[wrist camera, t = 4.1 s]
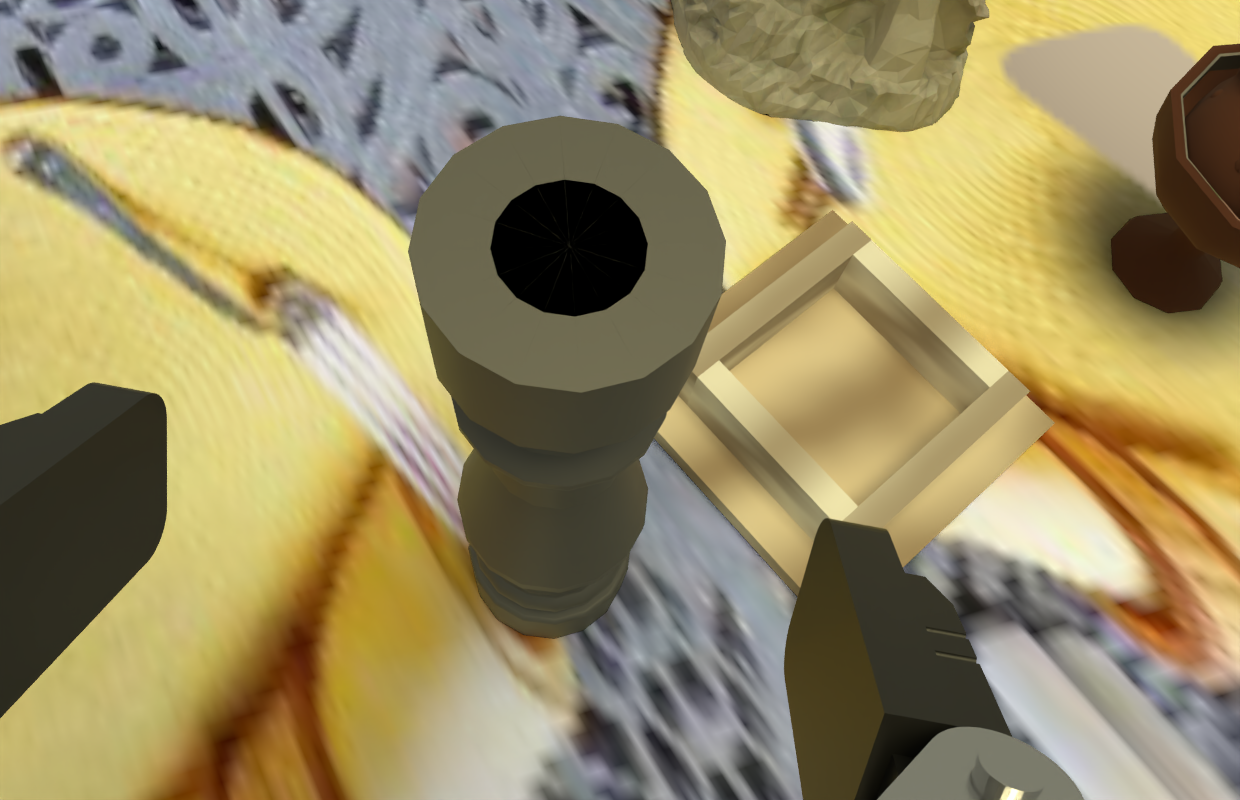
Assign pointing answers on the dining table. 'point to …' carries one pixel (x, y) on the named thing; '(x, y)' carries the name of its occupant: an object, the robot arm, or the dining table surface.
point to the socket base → (842, 403)
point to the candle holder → (562, 347)
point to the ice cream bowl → (1189, 191)
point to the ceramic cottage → (833, 56)
